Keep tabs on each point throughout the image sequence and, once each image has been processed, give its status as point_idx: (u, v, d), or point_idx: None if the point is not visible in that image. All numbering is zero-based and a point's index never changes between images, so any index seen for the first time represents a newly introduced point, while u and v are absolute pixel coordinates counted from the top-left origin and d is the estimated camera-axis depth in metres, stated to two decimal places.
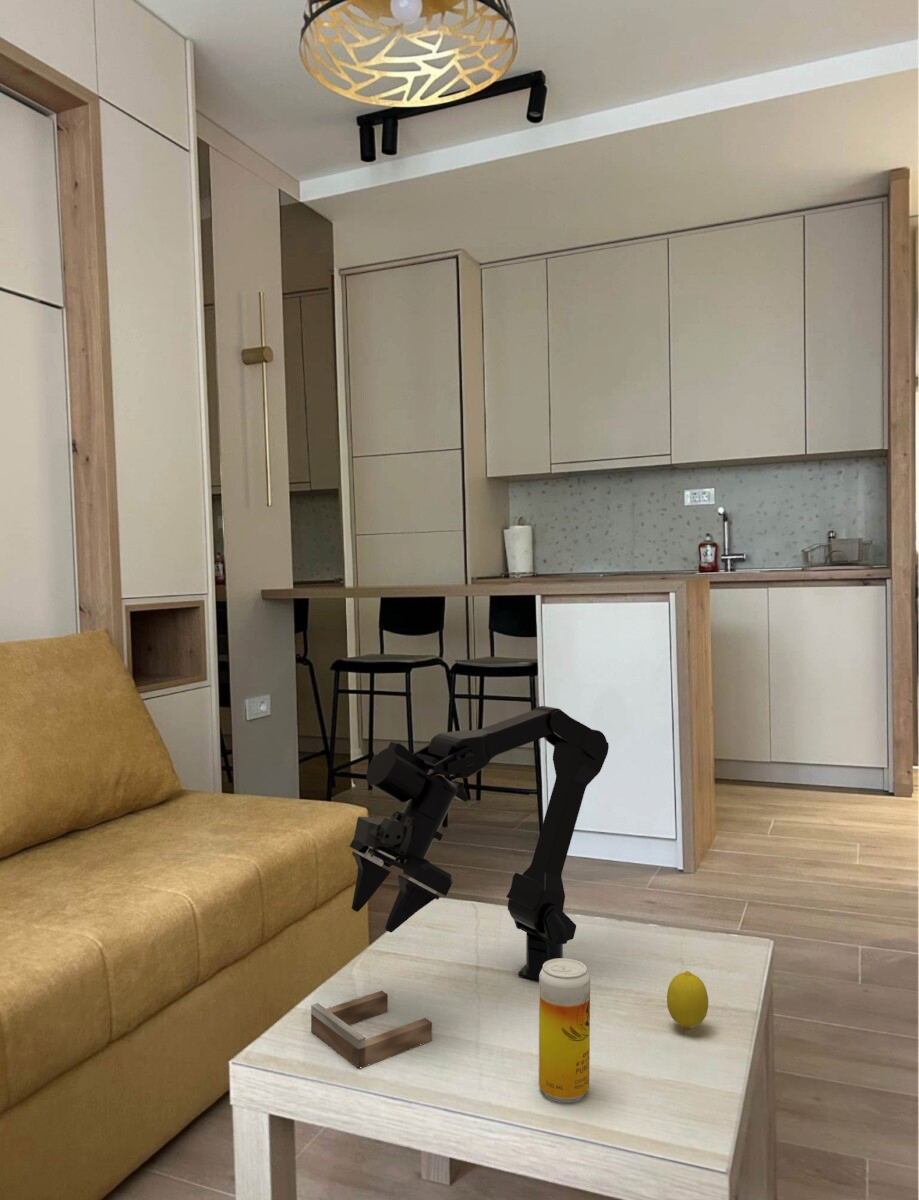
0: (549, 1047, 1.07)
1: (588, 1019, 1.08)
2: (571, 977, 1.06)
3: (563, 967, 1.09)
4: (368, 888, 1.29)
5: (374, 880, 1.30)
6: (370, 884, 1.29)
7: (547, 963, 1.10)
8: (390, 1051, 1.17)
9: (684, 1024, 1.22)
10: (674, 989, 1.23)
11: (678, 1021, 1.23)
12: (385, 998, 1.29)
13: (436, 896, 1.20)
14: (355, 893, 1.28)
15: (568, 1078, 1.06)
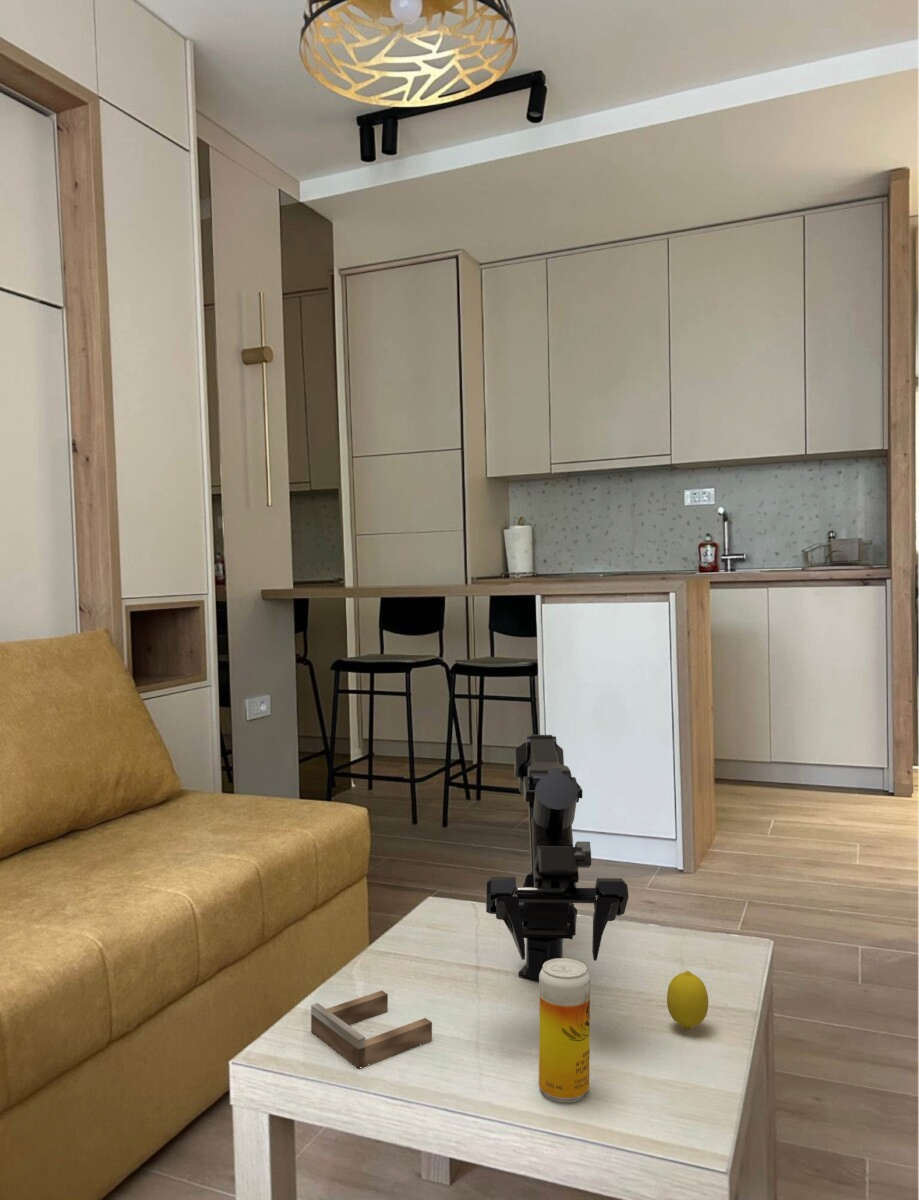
0: (549, 1047, 1.07)
1: (588, 1019, 1.08)
2: (571, 977, 1.06)
3: (563, 967, 1.09)
4: None
5: None
6: None
7: (547, 963, 1.10)
8: (390, 1051, 1.17)
9: (684, 1024, 1.22)
10: (674, 989, 1.23)
11: (678, 1021, 1.23)
12: (385, 998, 1.29)
13: None
14: (520, 939, 1.17)
15: (568, 1078, 1.06)
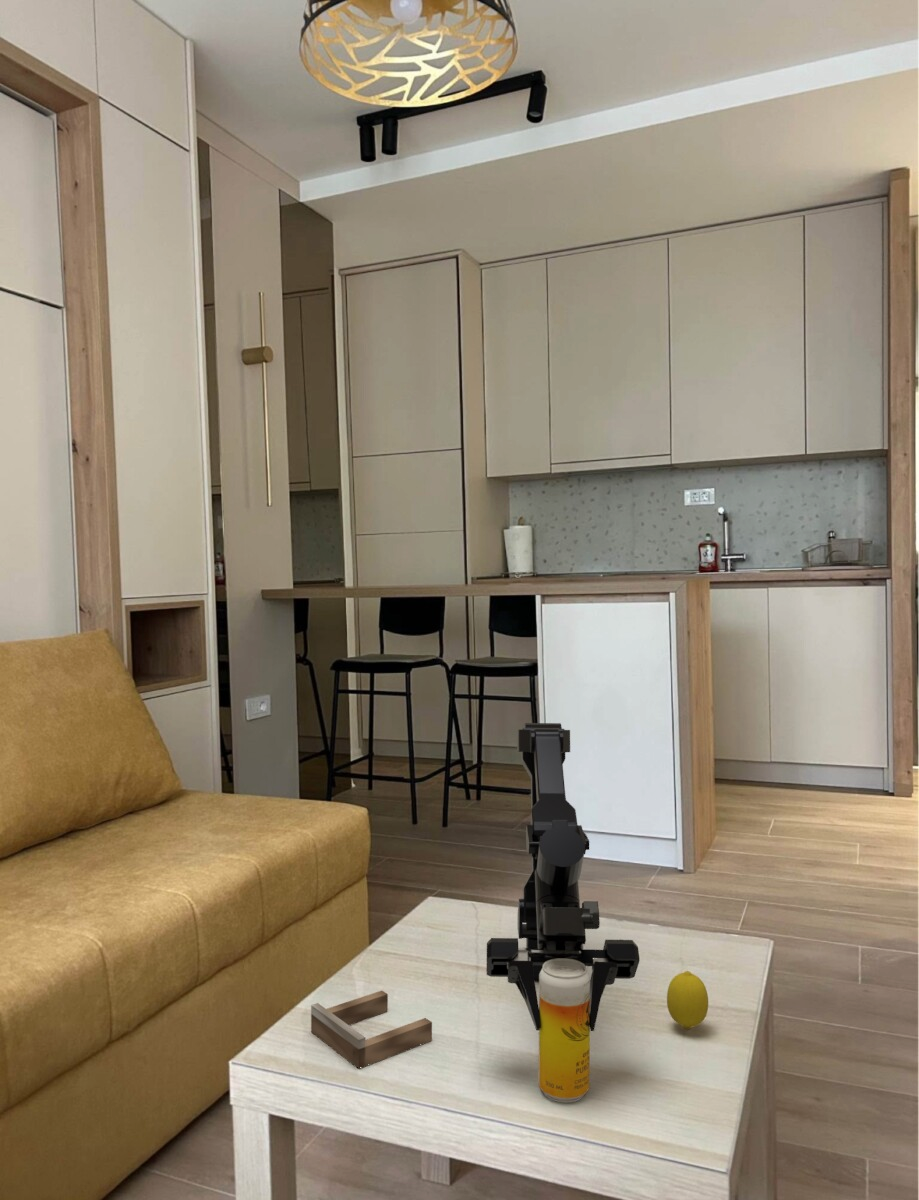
0: (549, 1047, 1.07)
1: (588, 1019, 1.08)
2: (571, 977, 1.06)
3: (563, 967, 1.09)
4: None
5: None
6: None
7: (547, 963, 1.10)
8: (390, 1051, 1.17)
9: (684, 1024, 1.22)
10: (674, 989, 1.23)
11: (678, 1021, 1.23)
12: (385, 998, 1.29)
13: None
14: (534, 1008, 1.08)
15: (568, 1078, 1.06)
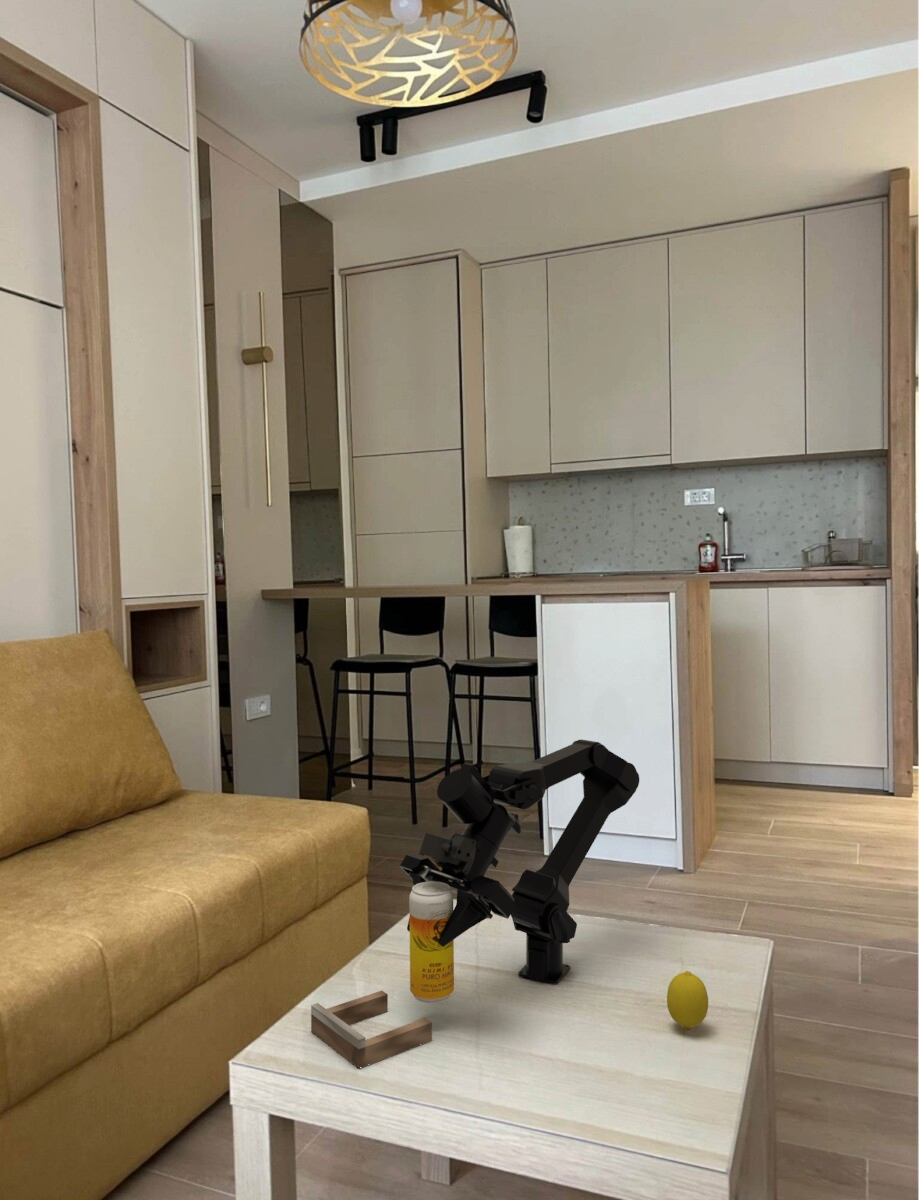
0: None
1: (438, 936, 1.23)
2: (420, 894, 1.23)
3: (431, 888, 1.25)
4: None
5: None
6: None
7: (429, 883, 1.28)
8: (390, 1051, 1.17)
9: (684, 1024, 1.22)
10: (674, 989, 1.23)
11: (678, 1021, 1.23)
12: (385, 998, 1.29)
13: (490, 915, 1.24)
14: None
15: (417, 980, 1.23)
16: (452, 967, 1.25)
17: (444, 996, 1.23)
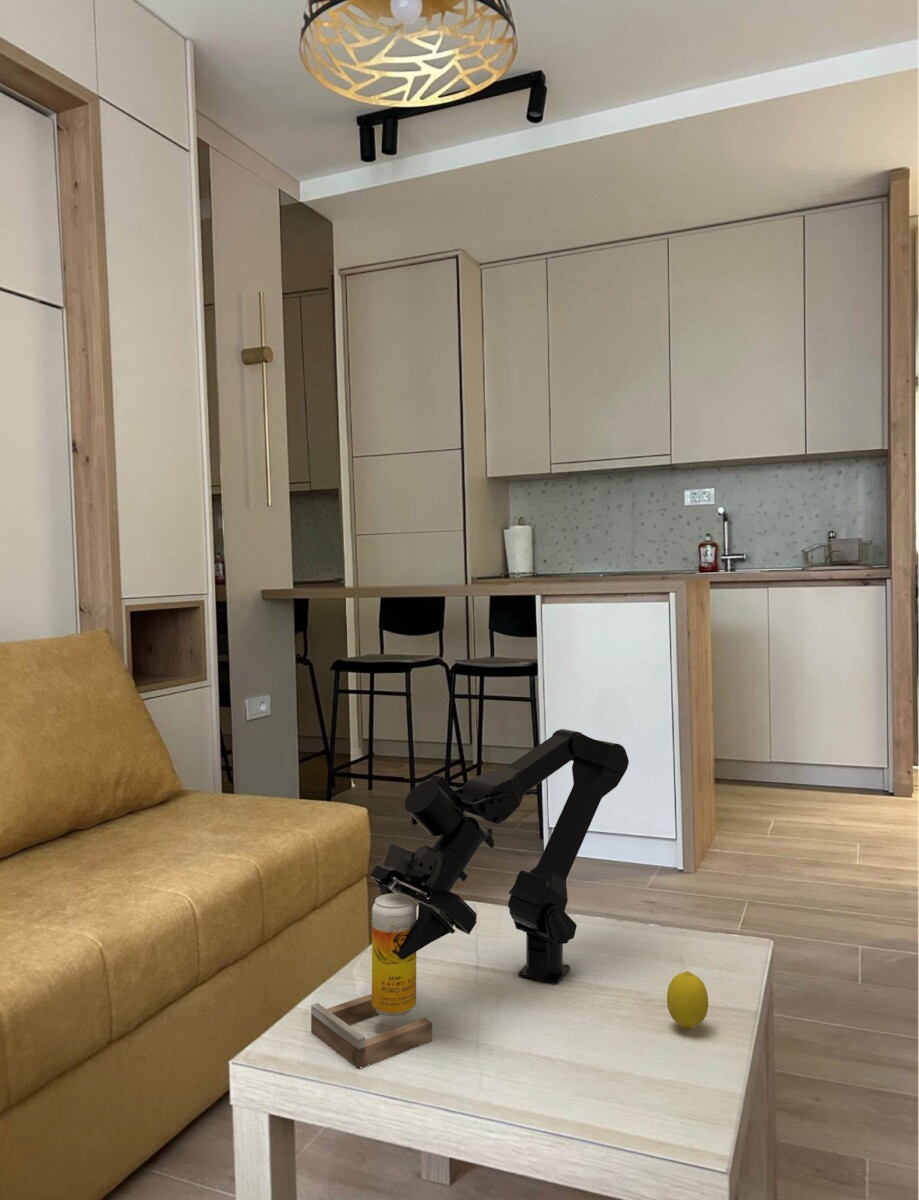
0: None
1: (398, 949, 1.21)
2: (381, 905, 1.22)
3: (394, 900, 1.24)
4: None
5: None
6: None
7: (395, 895, 1.27)
8: (390, 1051, 1.17)
9: (684, 1024, 1.22)
10: (674, 989, 1.23)
11: (678, 1021, 1.23)
12: None
13: (452, 929, 1.22)
14: None
15: (377, 992, 1.22)
16: (413, 981, 1.23)
17: (404, 1010, 1.22)
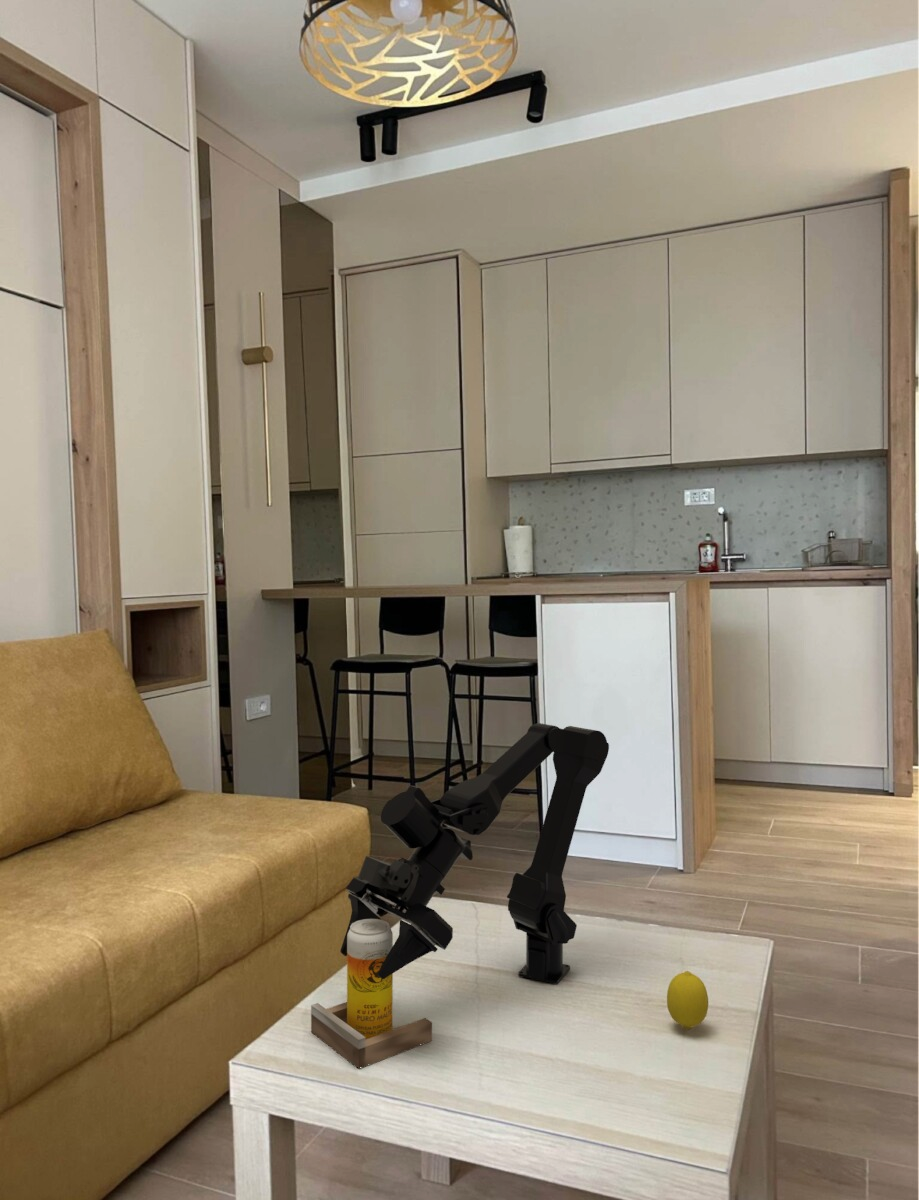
0: None
1: (373, 977, 1.19)
2: (356, 932, 1.20)
3: (370, 926, 1.22)
4: None
5: None
6: None
7: (371, 920, 1.24)
8: (390, 1051, 1.17)
9: (684, 1024, 1.22)
10: (674, 989, 1.23)
11: (678, 1021, 1.23)
12: None
13: (434, 948, 1.18)
14: (346, 936, 1.25)
15: (352, 1021, 1.20)
16: (389, 1009, 1.21)
17: None
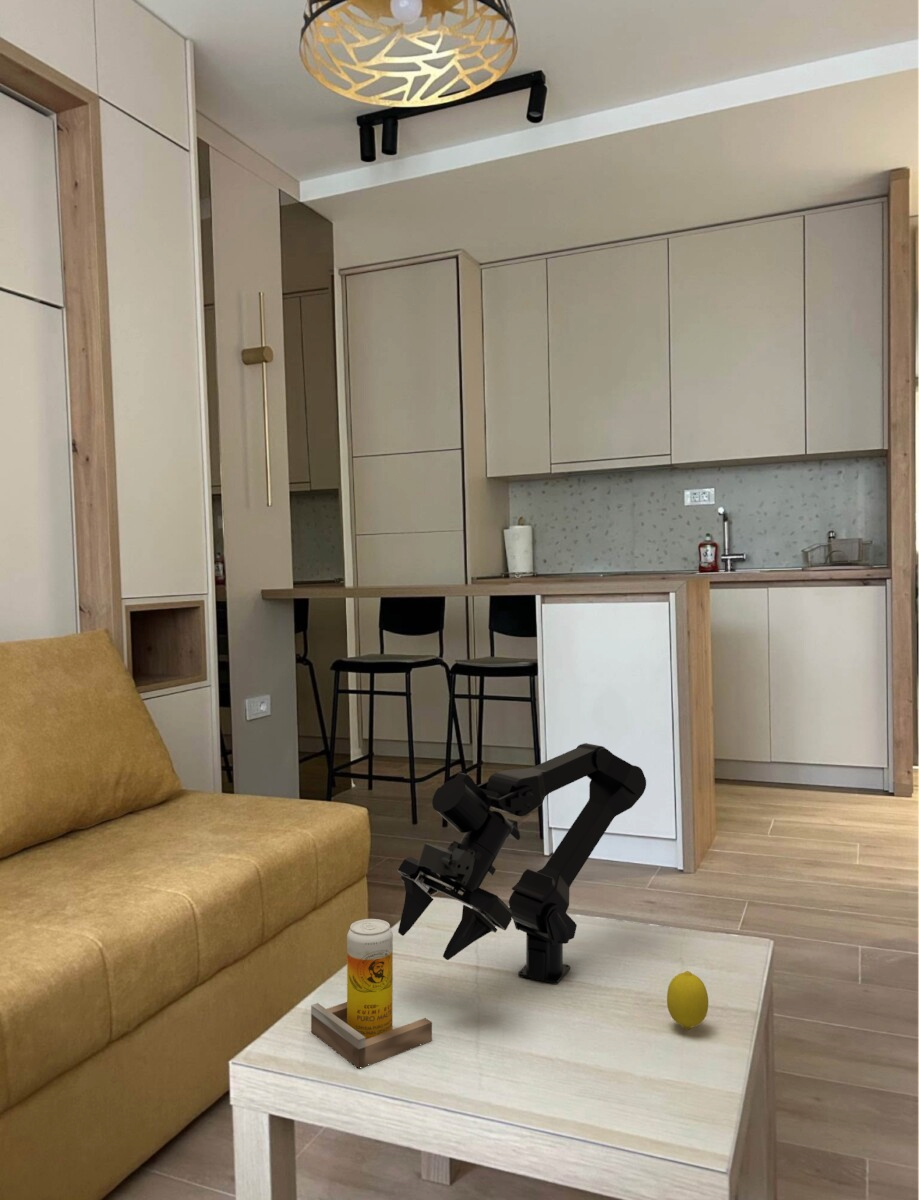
0: None
1: (373, 977, 1.19)
2: (356, 932, 1.20)
3: (370, 926, 1.22)
4: (414, 913, 1.32)
5: (420, 906, 1.32)
6: (416, 909, 1.32)
7: (371, 920, 1.24)
8: (390, 1051, 1.17)
9: (684, 1024, 1.22)
10: (674, 989, 1.23)
11: (678, 1021, 1.23)
12: None
13: (495, 929, 1.25)
14: (403, 917, 1.30)
15: (352, 1021, 1.20)
16: (389, 1009, 1.21)
17: None
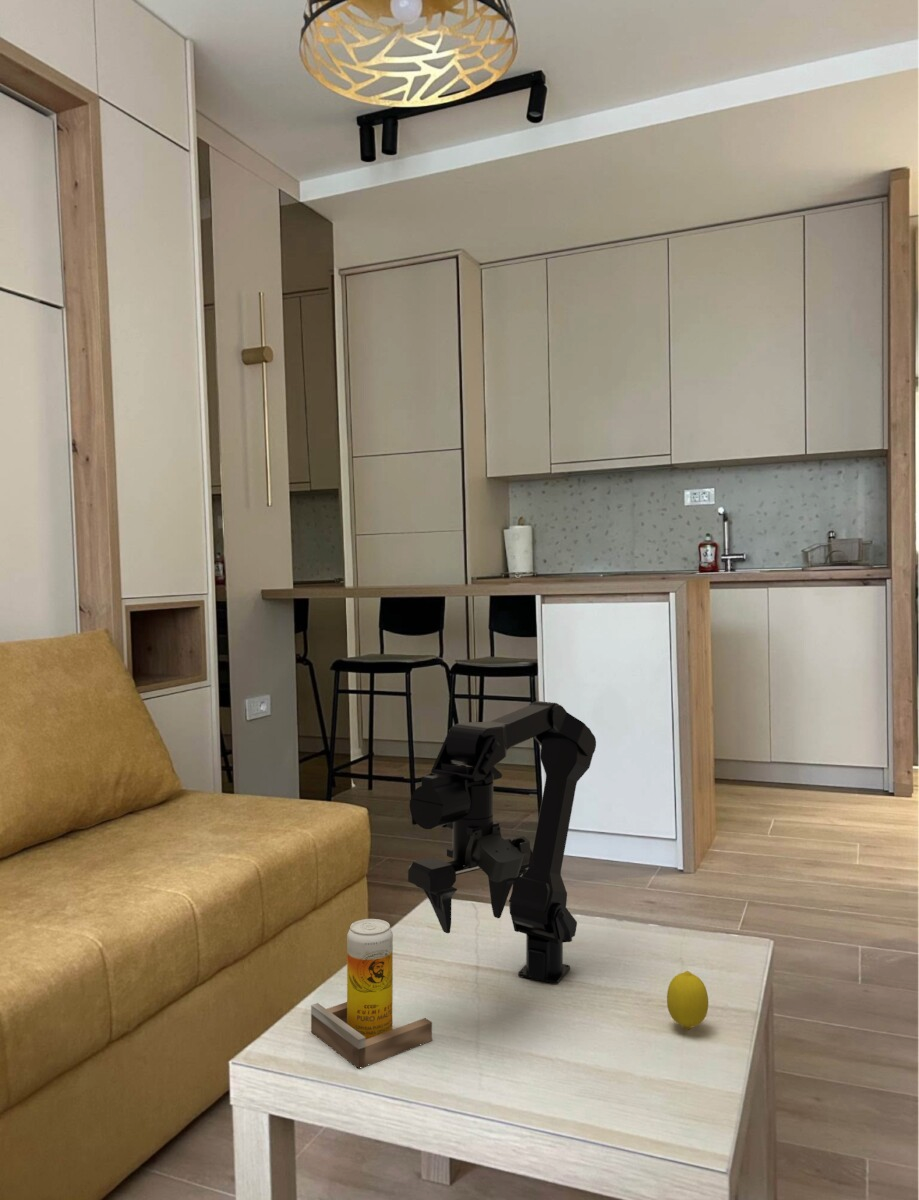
0: None
1: (373, 977, 1.19)
2: (356, 932, 1.20)
3: (370, 926, 1.22)
4: None
5: None
6: None
7: (371, 920, 1.24)
8: (390, 1051, 1.17)
9: (684, 1024, 1.22)
10: (674, 989, 1.23)
11: (678, 1021, 1.23)
12: None
13: None
14: (448, 920, 1.24)
15: (352, 1021, 1.20)
16: (389, 1009, 1.21)
17: None
